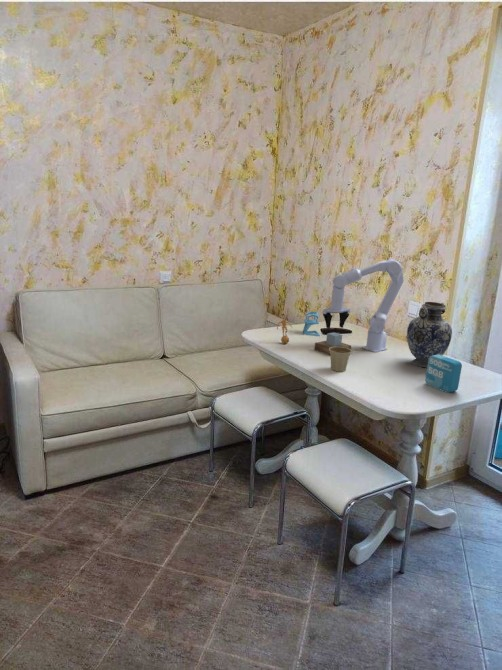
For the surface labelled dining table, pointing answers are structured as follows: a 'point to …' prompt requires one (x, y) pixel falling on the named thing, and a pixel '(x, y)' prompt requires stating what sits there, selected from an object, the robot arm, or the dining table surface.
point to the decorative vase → (428, 333)
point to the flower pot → (339, 358)
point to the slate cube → (334, 339)
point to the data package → (443, 373)
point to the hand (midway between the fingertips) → (334, 327)
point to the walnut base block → (325, 347)
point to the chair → (310, 323)
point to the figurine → (284, 338)
